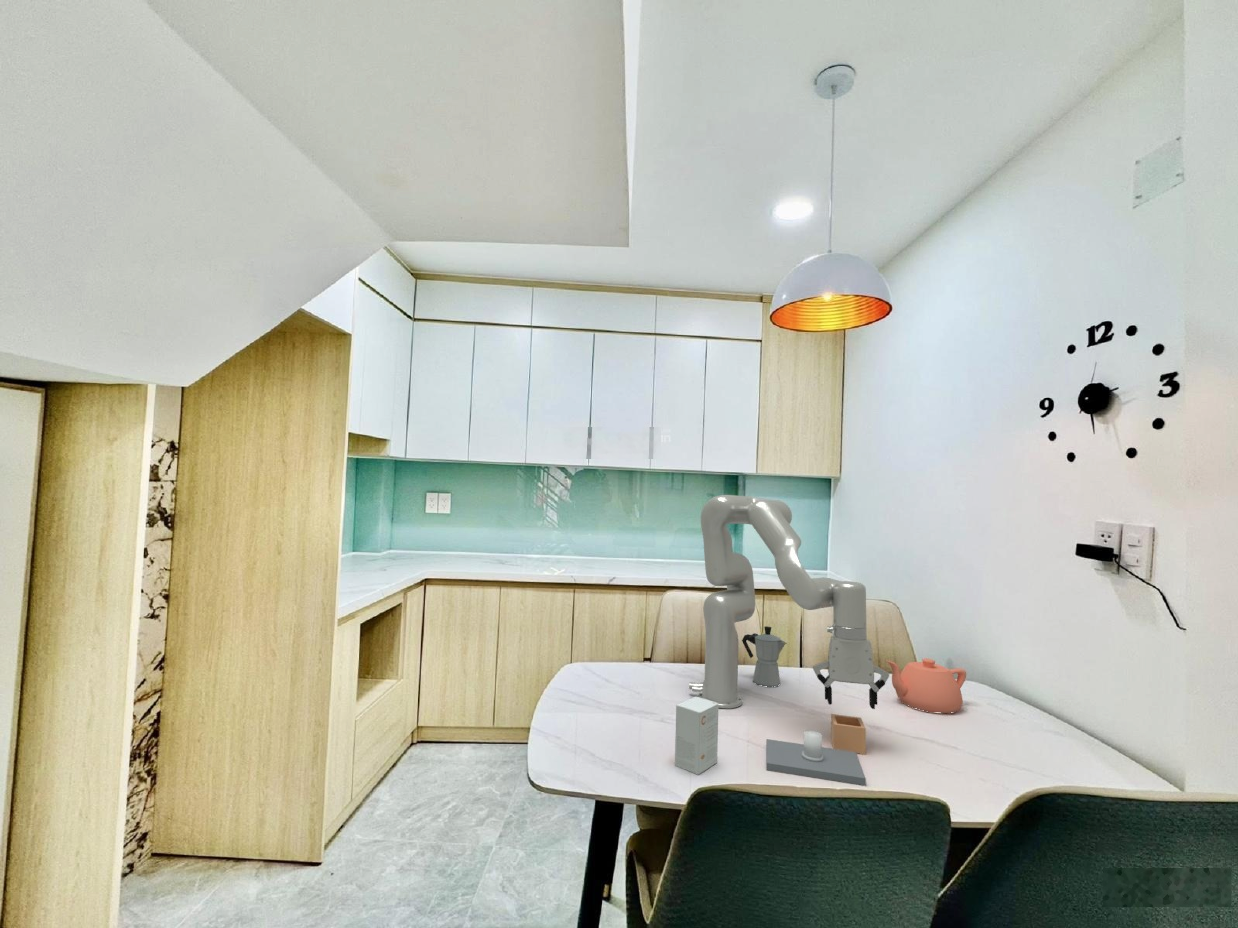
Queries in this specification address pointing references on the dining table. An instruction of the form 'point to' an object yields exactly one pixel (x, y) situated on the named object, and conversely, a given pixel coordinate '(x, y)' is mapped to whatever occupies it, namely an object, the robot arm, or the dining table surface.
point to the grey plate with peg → (814, 760)
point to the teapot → (928, 686)
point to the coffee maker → (765, 657)
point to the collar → (848, 733)
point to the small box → (696, 734)
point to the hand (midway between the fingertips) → (850, 705)
